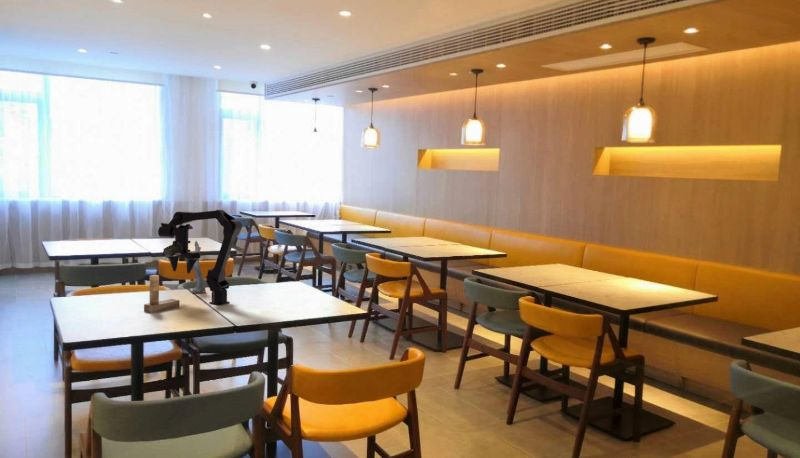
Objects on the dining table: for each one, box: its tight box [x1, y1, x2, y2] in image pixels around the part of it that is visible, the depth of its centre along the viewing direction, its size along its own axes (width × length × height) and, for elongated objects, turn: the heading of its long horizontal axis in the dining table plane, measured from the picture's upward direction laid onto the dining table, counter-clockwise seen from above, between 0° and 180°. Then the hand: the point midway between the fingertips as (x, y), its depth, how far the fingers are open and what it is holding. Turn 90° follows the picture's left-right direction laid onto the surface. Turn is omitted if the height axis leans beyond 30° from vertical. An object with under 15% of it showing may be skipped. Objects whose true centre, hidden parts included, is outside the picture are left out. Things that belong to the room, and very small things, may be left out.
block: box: [143, 298, 180, 314], centre depth 247 cm, size 5×14×3 cm, turn 151°
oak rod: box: [149, 274, 160, 305], centre depth 243 cm, size 4×4×12 cm
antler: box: [191, 240, 207, 294], centre depth 286 cm, size 12×8×25 cm
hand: (181, 272), depth 265 cm, fingers open, 9 cm apart
